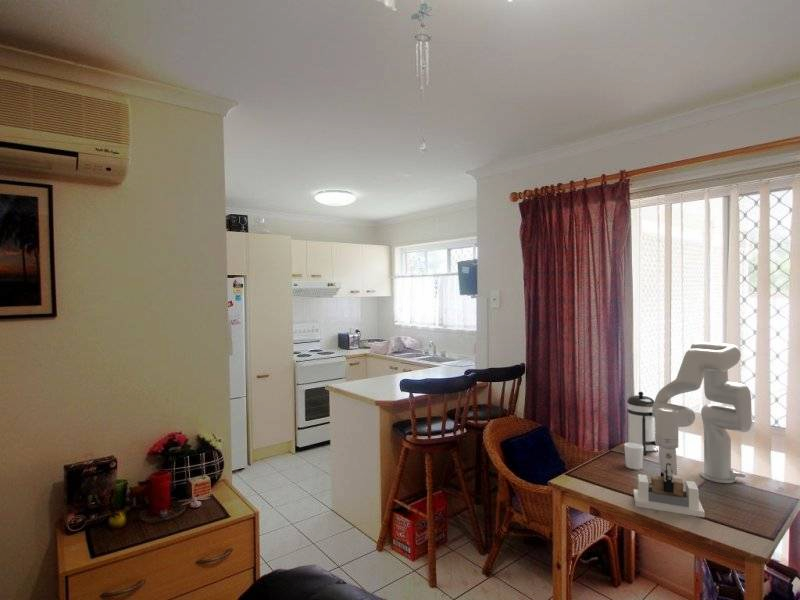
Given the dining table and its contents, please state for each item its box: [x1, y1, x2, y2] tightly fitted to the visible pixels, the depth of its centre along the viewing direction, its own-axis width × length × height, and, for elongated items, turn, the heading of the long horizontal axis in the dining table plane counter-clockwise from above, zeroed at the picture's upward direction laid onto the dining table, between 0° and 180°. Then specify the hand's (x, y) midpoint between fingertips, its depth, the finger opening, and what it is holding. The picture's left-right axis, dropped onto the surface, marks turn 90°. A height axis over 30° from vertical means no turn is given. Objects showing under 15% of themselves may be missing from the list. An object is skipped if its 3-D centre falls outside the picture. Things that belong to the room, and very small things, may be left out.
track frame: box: [633, 473, 706, 518], centre depth 169 cm, size 22×11×9 cm, turn 66°
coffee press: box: [626, 391, 659, 456], centre depth 225 cm, size 17×16×30 cm
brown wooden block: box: [650, 474, 684, 497], centre depth 169 cm, size 10×4×8 cm, turn 66°
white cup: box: [623, 442, 644, 470], centre depth 206 cm, size 8×8×10 cm
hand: (667, 487), depth 169 cm, fingers open, 7 cm apart
